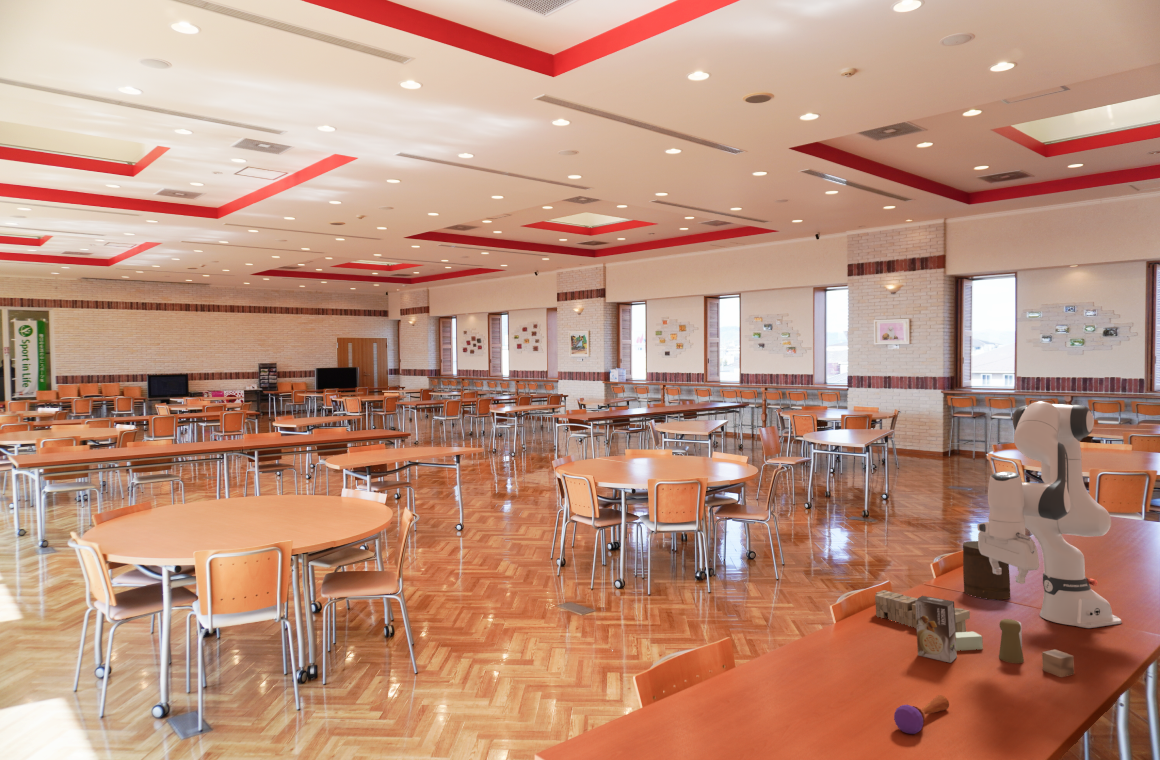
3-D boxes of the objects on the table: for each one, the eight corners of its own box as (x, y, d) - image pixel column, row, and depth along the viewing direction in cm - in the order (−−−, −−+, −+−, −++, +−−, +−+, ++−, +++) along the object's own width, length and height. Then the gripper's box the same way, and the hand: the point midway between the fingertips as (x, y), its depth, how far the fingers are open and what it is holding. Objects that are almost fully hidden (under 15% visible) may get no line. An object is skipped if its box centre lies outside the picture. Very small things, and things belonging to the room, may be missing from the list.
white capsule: (1014, 642, 207) (1013, 619, 207) (1026, 648, 202) (1025, 624, 202) (998, 643, 207) (997, 620, 207) (1010, 649, 202) (1009, 625, 202)
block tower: (872, 618, 235) (957, 641, 210) (870, 594, 235) (955, 613, 210) (886, 614, 239) (971, 635, 214) (884, 589, 239) (969, 608, 215)
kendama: (957, 697, 164) (917, 717, 152) (952, 720, 165) (912, 742, 152) (932, 684, 169) (891, 703, 157) (927, 707, 170) (887, 727, 157)
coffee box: (957, 656, 198) (956, 601, 198) (950, 663, 193) (948, 606, 193) (924, 649, 204) (922, 594, 204) (916, 655, 200) (914, 599, 200)
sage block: (973, 644, 207) (973, 631, 207) (982, 649, 203) (982, 636, 203) (948, 646, 206) (948, 632, 206) (957, 651, 202) (956, 637, 202)
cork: (1027, 663, 192) (1026, 624, 192) (1003, 662, 193) (1002, 623, 193) (1018, 655, 198) (1017, 617, 198) (995, 654, 199) (994, 616, 199)
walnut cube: (1055, 667, 189) (1055, 649, 189) (1074, 674, 184) (1073, 655, 184) (1042, 670, 187) (1042, 652, 187) (1061, 677, 182) (1060, 658, 183)
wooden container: (992, 587, 262) (990, 530, 263) (1019, 599, 248) (1017, 538, 248) (955, 589, 262) (953, 531, 262) (980, 601, 247) (978, 540, 247)
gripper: (1044, 536, 186) (1046, 588, 185) (993, 522, 206) (994, 568, 206) (1022, 537, 185) (1024, 589, 185) (973, 523, 205) (974, 569, 205)
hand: (1008, 578), depth 195 cm, fingers open, 8 cm apart
